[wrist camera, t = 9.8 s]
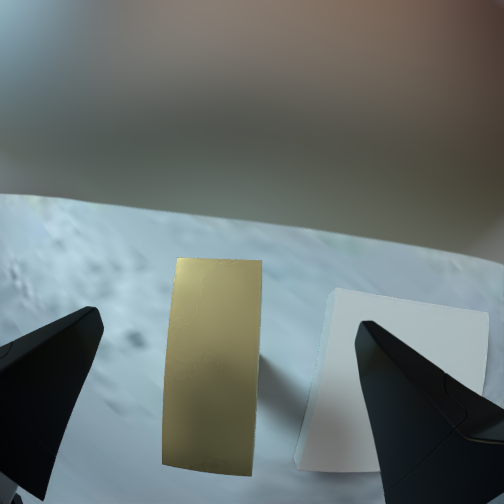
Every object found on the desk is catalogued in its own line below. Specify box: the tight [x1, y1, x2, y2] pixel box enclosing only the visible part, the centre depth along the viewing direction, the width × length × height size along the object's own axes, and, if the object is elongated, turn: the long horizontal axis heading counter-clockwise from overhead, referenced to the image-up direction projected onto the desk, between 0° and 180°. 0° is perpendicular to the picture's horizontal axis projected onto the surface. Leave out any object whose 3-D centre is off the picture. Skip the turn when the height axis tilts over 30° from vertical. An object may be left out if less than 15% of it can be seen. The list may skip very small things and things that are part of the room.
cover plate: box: [293, 288, 489, 472], centre depth 15 cm, size 12×14×2 cm
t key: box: [162, 258, 262, 477], centre depth 12 cm, size 6×2×12 cm, turn 177°
